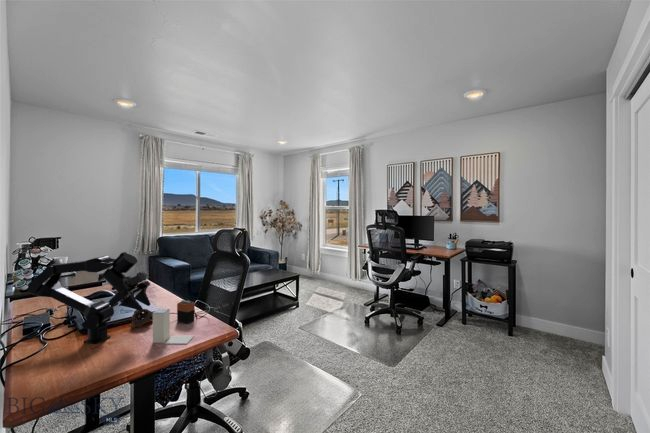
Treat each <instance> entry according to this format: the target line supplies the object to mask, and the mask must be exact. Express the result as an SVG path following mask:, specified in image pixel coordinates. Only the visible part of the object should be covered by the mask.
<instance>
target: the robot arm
mask: <svg viewBox="0 0 650 433" xmlns="http://www.w3.org/2000/svg"><path fill="white" fill-rule="evenodd" d="M137 263H138V259H137V257H135V255H132V254H130V253H127V252H126V251H123V252H121V253H120V254H119V255H118V256H117V258H112V257H110V256H109V255H102V256H98V257H94V258H90V259H87V260H82V261H73V262H63V263H60V262H59V263H53V264H50V265H48V266H46V267H45V269H43V271H42V272H40V273H39V274H37V275H36V276H35V277H34V278H33V280H31V281H30V282H29V283H28V285H27V290H28V292H29V294H31V295H34V296H38V297H41V298H52V299H54V300H55V301H57V302H59V303H62V304H64V305H66V306H67V307H70V308H72V309H74V310H76V311H79V312H80V313H82V314H83V316H84V318H85V321H84V322H82V323H81V326H82V329H83V330H87V338H86V339H84V340H83V342H84V343H90V344H94V345H95V344H98V343H100V342H102V341H105V340H107V339H109V338H111V337H112V336H111V335H110V334H108V324H107V322H110V321H111V319H112V317H113V316H114V314H115V310H114V308H115V307H117V306H118V307H121V306H122V307H125V308H129V309H133V310H139V311H141V310H142V309H144V308H143V306H142V305H141V304H143V305H145V306H148V307H150V305H151V302H150V300H149V297H148V295H147V289H148V288H149V286H150V285H151V282H149V281H148V280H147V276H148V275H147V273H146V272H144V271H142V270H141V271H139V272H137V273H136V275H135V276H133V277H131V276H130V275H128V276H126V275H125V274H127V273H128V272H129V271H130V270H131V269H132V268H133V267H134V266H135V265H137ZM73 272H74V273H76V272H87V273H99V272H100V273H99V274H98V279H97V281H98V282H102V281H103V280H105V281H106V282H107V283H108V284H109V285H110V286H111V288H110V290H112V291H116V292H117V293H116V294H115V295H113V296H112V298H110V299H109V300H108V302H106V301H105V300H102V299H101V300H98V301H96V302H95V301H94V302H93V301H91V300H90V299H88V298H85V297H84V296H81V295H79V294H77V293H75V292H73V291H71V290H69V289H67V288H65V287H63V286H62V284H61V282H60V279H62V278H61V277H62V274H66V273H73ZM101 272H102V273H101ZM119 302H120V304H119ZM139 302H140V303H141V304H140V303H139Z"/></svg>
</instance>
